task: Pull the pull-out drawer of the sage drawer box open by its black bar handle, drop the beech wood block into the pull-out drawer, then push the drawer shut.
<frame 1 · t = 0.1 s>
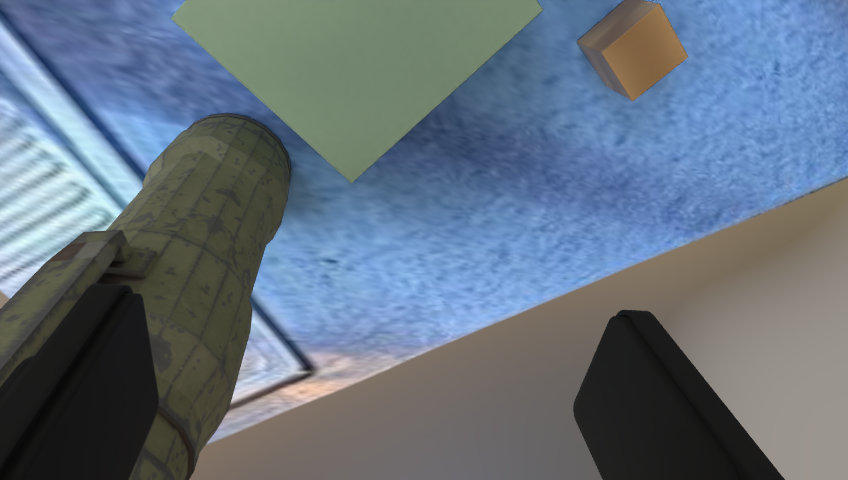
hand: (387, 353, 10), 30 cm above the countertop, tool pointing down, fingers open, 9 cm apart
thermos: (235, 167, 39), on the countertop
block: (616, 43, 38), on the countertop
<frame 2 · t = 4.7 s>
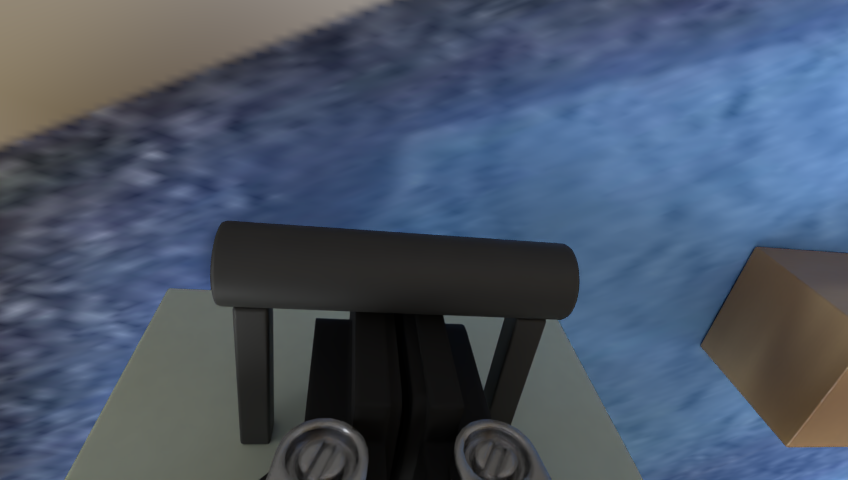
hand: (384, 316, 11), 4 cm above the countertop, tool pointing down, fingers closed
block: (779, 301, 18), on the countertop
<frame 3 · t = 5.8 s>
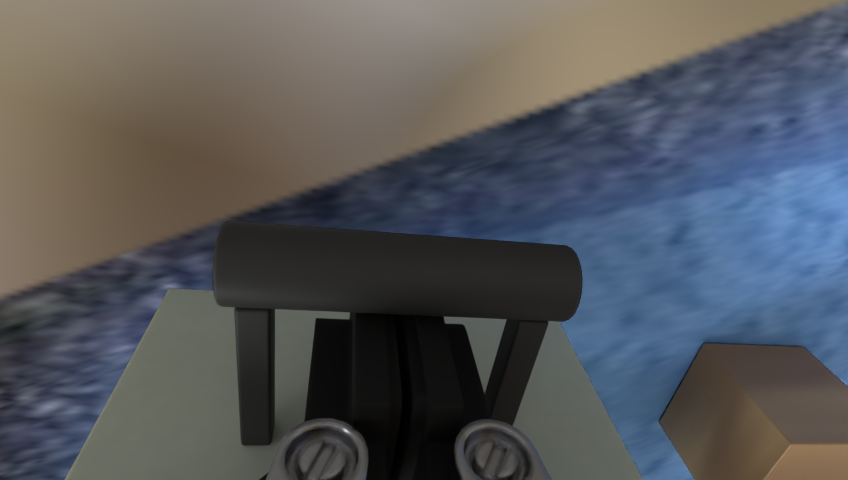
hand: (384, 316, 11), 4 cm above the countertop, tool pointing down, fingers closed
block: (728, 385, 20), on the countertop
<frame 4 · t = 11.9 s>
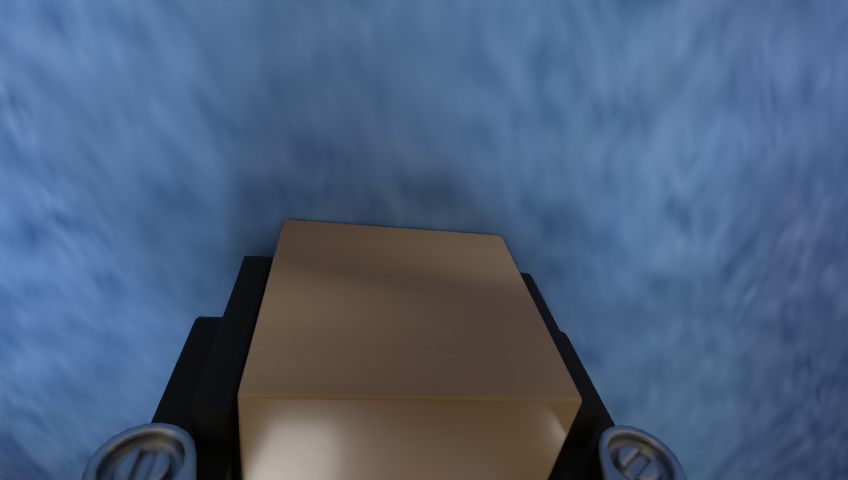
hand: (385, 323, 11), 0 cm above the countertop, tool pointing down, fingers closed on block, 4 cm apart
block: (384, 312, 11), on the countertop, touching gripper
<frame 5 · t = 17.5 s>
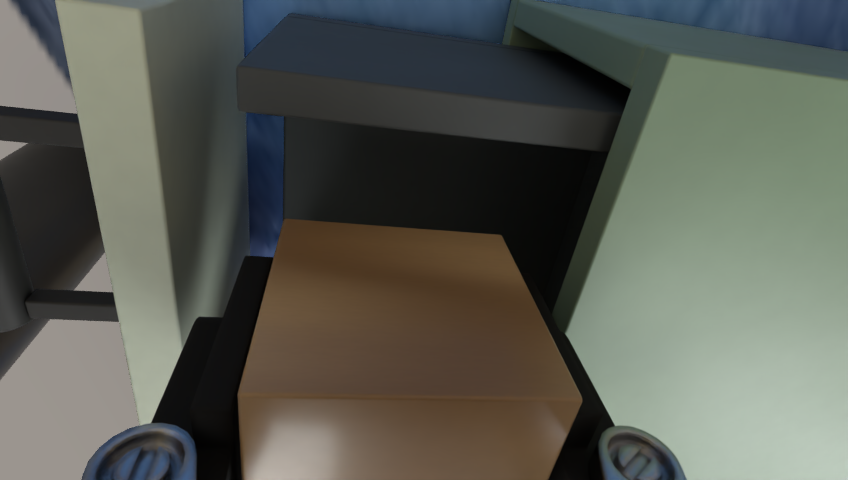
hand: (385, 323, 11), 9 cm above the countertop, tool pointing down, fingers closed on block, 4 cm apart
sage drawer box: (644, 192, 20), on the countertop
pull-out drawer: (335, 226, 14), point 5 cm above the countertop, slide at 8.2 cm
block: (384, 312, 11), point 9 cm above the countertop, touching gripper
when the fingers open (11 cm above the countertop, at t = 29.7 s): block drops 9 cm, resting on pull-out drawer.
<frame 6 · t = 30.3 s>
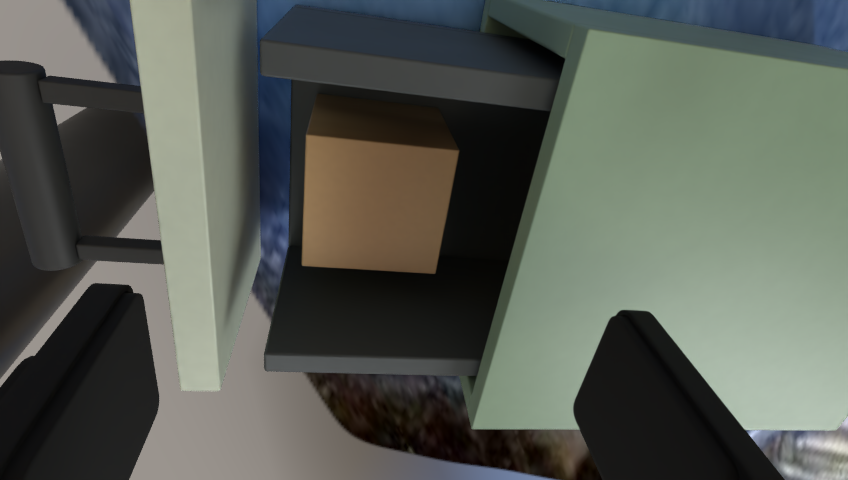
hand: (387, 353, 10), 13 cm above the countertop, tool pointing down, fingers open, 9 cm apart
sage drawer box: (609, 165, 23), on the countertop
pull-out drawer: (335, 185, 17), point 5 cm above the countertop, slide at 8.2 cm, touching block
block: (373, 158, 19), point 2 cm above the countertop, touching pull-out drawer
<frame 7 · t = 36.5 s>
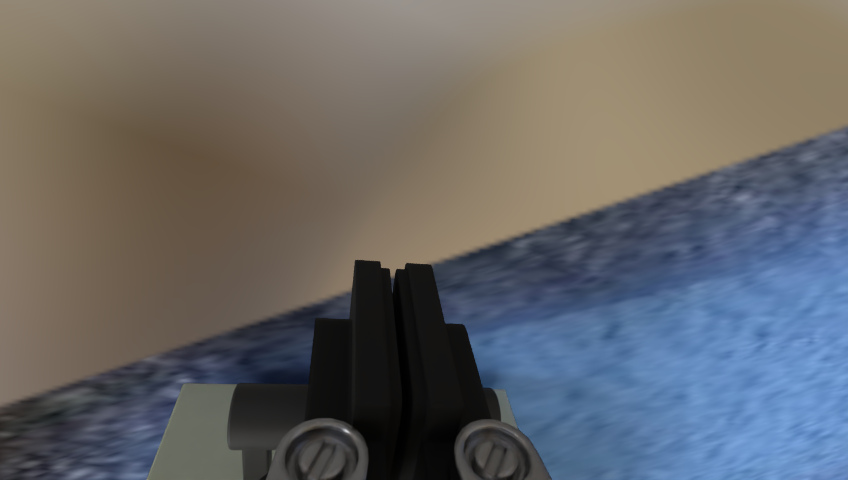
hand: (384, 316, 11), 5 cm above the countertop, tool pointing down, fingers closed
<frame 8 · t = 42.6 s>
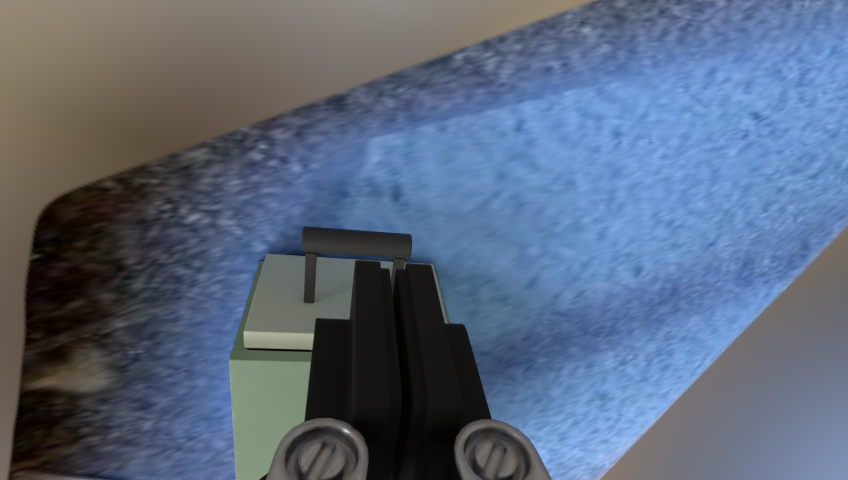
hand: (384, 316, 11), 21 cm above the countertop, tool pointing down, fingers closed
sage drawer box: (343, 343, 39), on the countertop
pull-out drawer: (346, 345, 33), point 5 cm above the countertop, slide at 0.0 cm, touching block, sage drawer box
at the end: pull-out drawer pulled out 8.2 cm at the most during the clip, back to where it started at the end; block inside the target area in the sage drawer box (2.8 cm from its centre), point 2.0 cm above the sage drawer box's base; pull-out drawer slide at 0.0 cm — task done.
